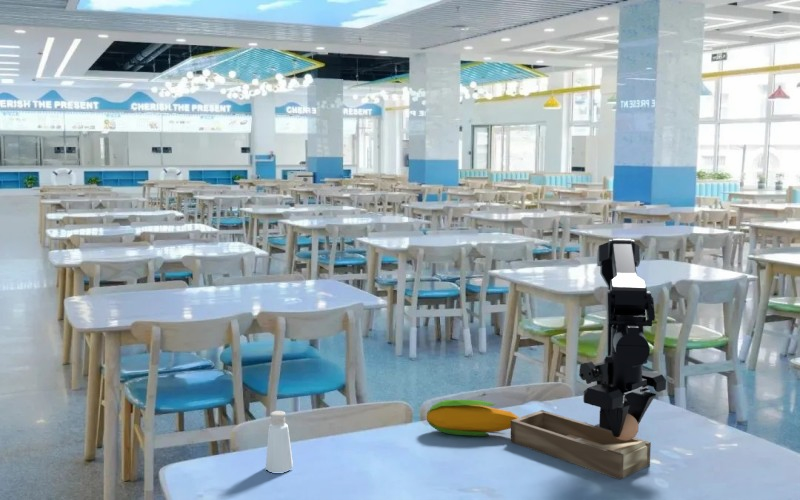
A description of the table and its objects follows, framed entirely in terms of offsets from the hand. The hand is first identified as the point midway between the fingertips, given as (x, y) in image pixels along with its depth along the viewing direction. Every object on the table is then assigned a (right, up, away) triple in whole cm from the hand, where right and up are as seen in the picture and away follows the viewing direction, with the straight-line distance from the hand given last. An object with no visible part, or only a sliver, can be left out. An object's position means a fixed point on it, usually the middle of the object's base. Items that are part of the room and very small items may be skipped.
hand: (624, 433), depth 154 cm
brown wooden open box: (-7, -6, +9) cm, 13 cm away
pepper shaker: (-65, -7, +2) cm, 65 cm away
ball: (0, +1, 0) cm, 1 cm away
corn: (-26, -5, +20) cm, 33 cm away
